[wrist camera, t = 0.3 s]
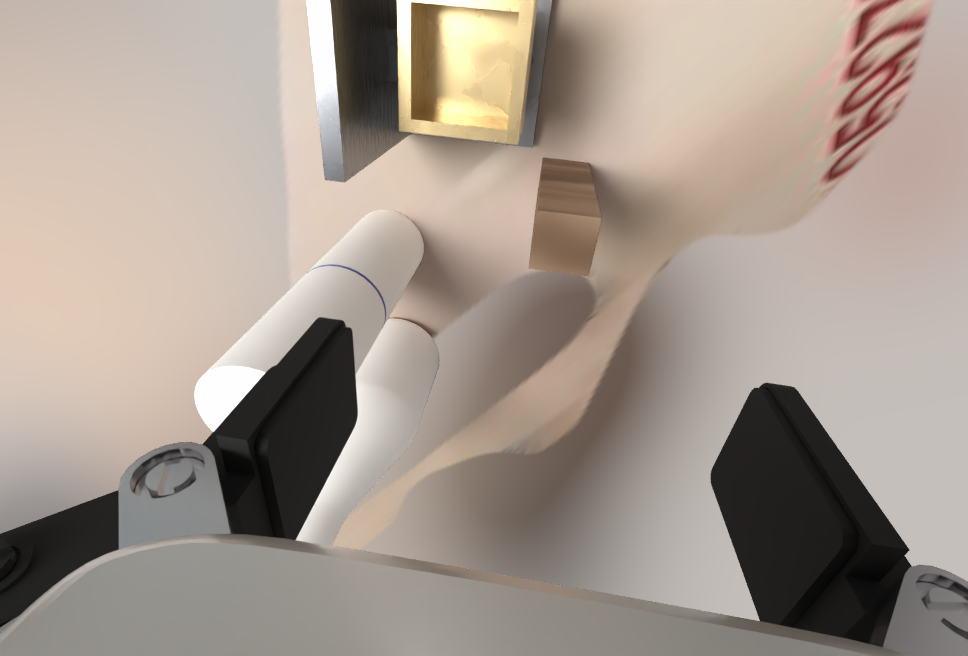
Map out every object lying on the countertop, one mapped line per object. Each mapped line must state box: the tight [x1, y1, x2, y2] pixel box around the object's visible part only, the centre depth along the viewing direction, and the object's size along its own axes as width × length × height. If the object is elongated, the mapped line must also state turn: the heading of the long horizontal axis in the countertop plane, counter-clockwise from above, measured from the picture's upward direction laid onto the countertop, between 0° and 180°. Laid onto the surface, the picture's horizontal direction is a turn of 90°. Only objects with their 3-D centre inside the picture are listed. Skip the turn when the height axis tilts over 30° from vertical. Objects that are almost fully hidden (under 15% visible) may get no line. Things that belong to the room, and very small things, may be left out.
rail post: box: [529, 158, 602, 276], centre depth 36 cm, size 4×4×14 cm
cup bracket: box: [306, 0, 552, 182], centre depth 31 cm, size 12×12×16 cm
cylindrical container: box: [194, 209, 424, 432], centre depth 37 cm, size 7×7×25 cm
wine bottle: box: [296, 318, 439, 546], centre depth 42 cm, size 10×10×30 cm
